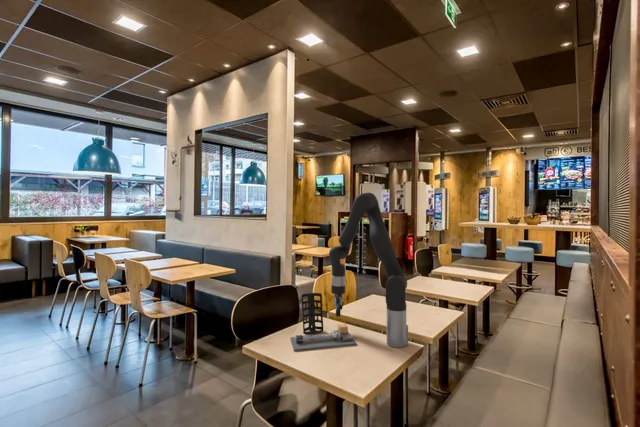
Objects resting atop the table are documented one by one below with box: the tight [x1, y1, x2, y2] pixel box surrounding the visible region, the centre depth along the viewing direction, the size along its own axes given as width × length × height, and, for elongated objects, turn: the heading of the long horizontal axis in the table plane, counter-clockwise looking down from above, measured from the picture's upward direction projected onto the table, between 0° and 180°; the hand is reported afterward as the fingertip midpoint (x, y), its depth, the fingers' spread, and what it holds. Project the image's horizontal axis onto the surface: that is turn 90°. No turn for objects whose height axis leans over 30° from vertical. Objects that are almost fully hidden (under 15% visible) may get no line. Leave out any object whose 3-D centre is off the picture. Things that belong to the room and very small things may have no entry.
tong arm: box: [294, 333, 333, 340], centre depth 165 cm, size 19×3×1 cm, turn 102°
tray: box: [290, 336, 358, 352], centre depth 166 cm, size 30×14×1 cm, turn 102°
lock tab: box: [337, 323, 349, 333], centre depth 172 cm, size 4×4×3 cm
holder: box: [301, 292, 324, 335], centre depth 179 cm, size 11×8×20 cm
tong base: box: [296, 329, 354, 344], centre depth 167 cm, size 27×11×3 cm, turn 102°
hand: (338, 316), depth 180 cm, fingers closed
